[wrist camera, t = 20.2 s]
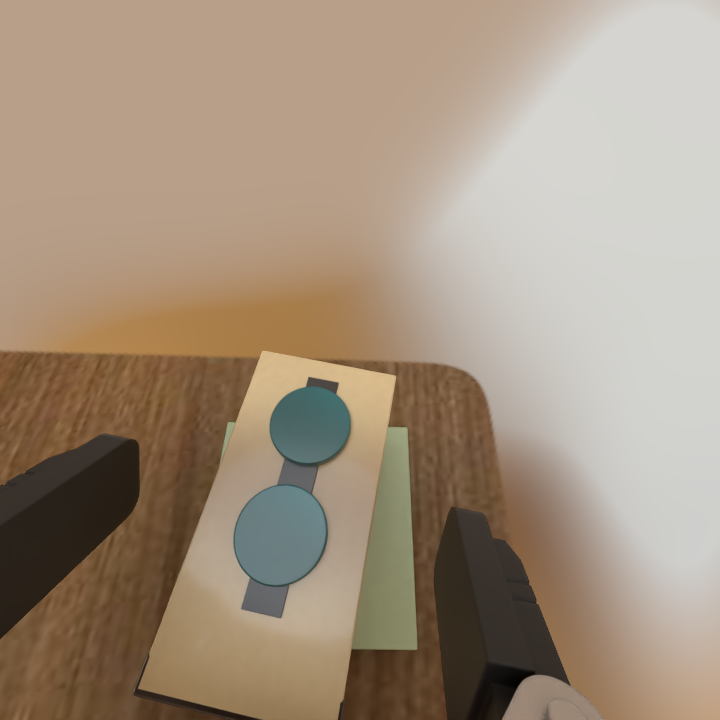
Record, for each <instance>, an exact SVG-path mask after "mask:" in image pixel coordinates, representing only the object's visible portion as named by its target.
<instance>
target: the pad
mask: <svg viewBox="0 0 720 720" xmlns="http://www.w3.org/2000/svg"><path fill="white" fill-rule="evenodd" d="M235 423H236V422H228V425H227V430H226V435H225V440H224V445H223V450H222V455H221V460H222V458H223V455H224V452H225V450H226V447H227V444H228V442H229V439H230V436H231V434H232V431H233V428H234V426H235ZM221 460H220V463H221ZM219 466H220V465H219ZM417 648H418V647H417V625H416V603H415V582H414V560H413V538H412V516H411V494H410V473H409V451H408V429H407V428H406V427H388V430H387V436H386V442H385V448H384V455H383V461H382V467H381V473H380V479H379V485H378V491H377V497H376V503H375V509H374V516H373V522H372V528H371V534H370V540H369V546H368V552H367V558H366V564H365V570H364V576H363V583H362V589H361V595H360V601H359V607H358V613H357V619H356V625H355V631H354V637H353V644H352V649H377V650H417Z"/></svg>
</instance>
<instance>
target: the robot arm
mask: <svg viewBox="0 0 720 720" xmlns="http://www.w3.org/2000/svg"><path fill="white" fill-rule="evenodd" d="M139 491H140V480H139V444H138V442H137V441H136V440H134V439H129V438H124V437H119V436H115V435H110V434H101V435H99V436H97V437H95V438H94V439H92V440H90V441H89V442H87V443H85V444H84V445H82V446H80V447H79V448H77V449H73V450H70V451H68V452H65V453H62V454H59V455H56V456H53V457H50V458H48V459H46V460H44V461H43V462H41V463H39V464H37V465H36V466H34V467H32V468H30V469H29V470H27V471H26V473H25V474H20V475H18V476H16V477H15V478H13V479H11V480H9V481H8V482H7V483H6V485H5V486H4V485H1V486H0V639H1V638H2V637H3V636H4V635H5V634H6V633H7V632H8V631H9V630H10V629H11V628H12V627H13V626H14V625H15V624H17V623H18V622H19V621H20V620H21V619H22V618H23V617H24V616H25V615H26V614H27V613H28V612H29V611H30V610H31V609H32V608H33V607H34V606H35V605H36V604H37V603H38V602H40V601H41V600H42V599H43V598H44V597H45V596H46V595H47V594H48V593H49V592H50V591H51V590H52V589H53V588H54V587H55V586H56V585H57V584H58V583H59V582H60V581H62V580H63V579H64V578H65V577H66V576H67V575H68V574H69V573H70V572H71V571H72V570H73V569H74V568H75V567H76V566H77V565H78V564H79V563H80V562H81V561H82V560H83V559H85V558H86V557H87V556H88V555H89V554H90V553H91V552H92V551H93V550H94V549H95V548H96V547H97V546H98V545H99V544H100V543H101V542H102V541H103V540H104V539H105V538H106V537H108V536H109V535H110V534H111V533H112V532H113V531H114V530H115V529H116V528H117V527H118V526H119V525H120V524H121V523H122V522H123V521H124V520H125V519H126V518H127V517H128V516H129V515H130V514H131V512H132V511H133V509H134V507H135V505H136V503H137V501H138V497H139ZM434 591H435V601H436V611H437V621H438V631H439V641H440V651H441V661H442V671H443V681H444V691H445V701H446V711H447V720H604V718H603V717H602V715H601V714H600V713H599V712H598V711H597V709H596V708H595V707H594V706H593V705H592V704H591V703H590V702H589V701H588V700H587V699H586V698H585V697H584V696H583V695H581V693H579V692H578V691H577V690H575V689H574V688H572V687H571V685H570V683H569V681H568V679H567V676H566V673H565V671H564V668H563V666H562V663H561V661H560V658H559V656H558V653H557V650H556V648H555V646H554V643H553V641H552V638H551V636H550V633H549V631H548V628H547V625H546V623H545V620H544V618H543V615H542V613H541V610H540V607H539V605H538V604H536V597H535V595H534V592H533V590H532V587H531V586H530V585H529V580H528V577H527V574H526V572H525V569H524V567H523V564H522V562H521V560H520V559H519V557H518V556H517V555H516V554H515V552H514V551H513V550H512V549H511V547H510V546H509V545H508V544H507V543H506V541H504V540H500V539H495V538H492V535H491V532H490V529H489V526H488V522H487V519H486V517H485V515H484V514H483V513H480V512H475V511H470V510H466V509H461V508H456V507H451V509H450V511H449V513H448V517H447V520H446V524H445V527H444V531H443V535H442V538H441V542H440V546H439V549H438V553H437V557H436V561H435V569H434Z"/></svg>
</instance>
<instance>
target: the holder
mask: <svg viewBox="0 0 720 720" xmlns="http://www.w3.org/2000/svg"><path fill="white" fill-rule="evenodd" d="M395 381H396V376H394V375H389V374H384V373H379V372H373V371H368V370H363V369H358V368H353V367H347V366H342V365H337V364H332V363H326V362H321V361H316V360H311V359H306V358H300V357H295V356H290V355H285V354H279V353H274V352H269V351H262V353H261V356H260V359H259V361H258V364H257V367H256V369H255V372H254V375H253V377H252V380H251V383H250V385H249V388H248V391H247V393H246V396H245V399H244V402H243V404H242V407H241V410H240V412H239V415H238V418H237V420H236V423H235V426H234V428H233V431H232V434H231V436H230V439H229V442H228V444H227V447H226V450H225V452H224V455H223V458H222V460H221V463H220V466H219V468H218V471H217V474H216V476H215V479H214V482H213V485H212V487H211V490H210V493H209V495H208V498H207V501H206V503H205V506H204V509H203V511H202V514H201V517H200V519H199V522H198V525H197V527H196V530H195V533H194V535H193V538H192V541H191V543H190V546H189V549H188V551H187V554H186V557H185V560H184V562H183V565H182V568H181V570H180V573H179V576H178V578H177V581H176V584H175V586H174V589H173V592H172V594H171V597H170V600H169V602H168V605H167V608H166V610H165V613H164V616H163V618H162V621H161V624H160V626H159V629H158V632H157V635H156V637H155V640H154V643H153V645H152V648H151V651H150V652H149V653H148V654H147V656H146V659H145V661H144V664H143V667H142V669H141V672H140V675H139V677H138V680H137V683H136V685H135V688H134V691H133V695H134V696H136V697H140V698H144V699H148V700H152V701H156V702H160V703H164V704H168V705H172V706H176V707H180V708H184V709H188V710H192V711H196V712H200V713H204V714H208V715H212V716H216V717H220V718H224V719H228V720H342V718H343V712H344V706H345V686H346V680H347V674H348V668H349V662H350V656H351V650H352V644H353V637H354V631H355V625H356V619H357V613H358V607H359V601H360V595H361V589H362V583H363V576H364V570H365V564H366V558H367V552H368V546H369V540H370V534H371V528H372V522H373V516H374V509H375V503H376V497H377V491H378V485H379V479H380V473H381V467H382V461H383V455H384V448H385V442H386V436H387V430H388V424H389V418H390V412H391V406H392V400H393V394H394V387H395Z"/></svg>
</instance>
